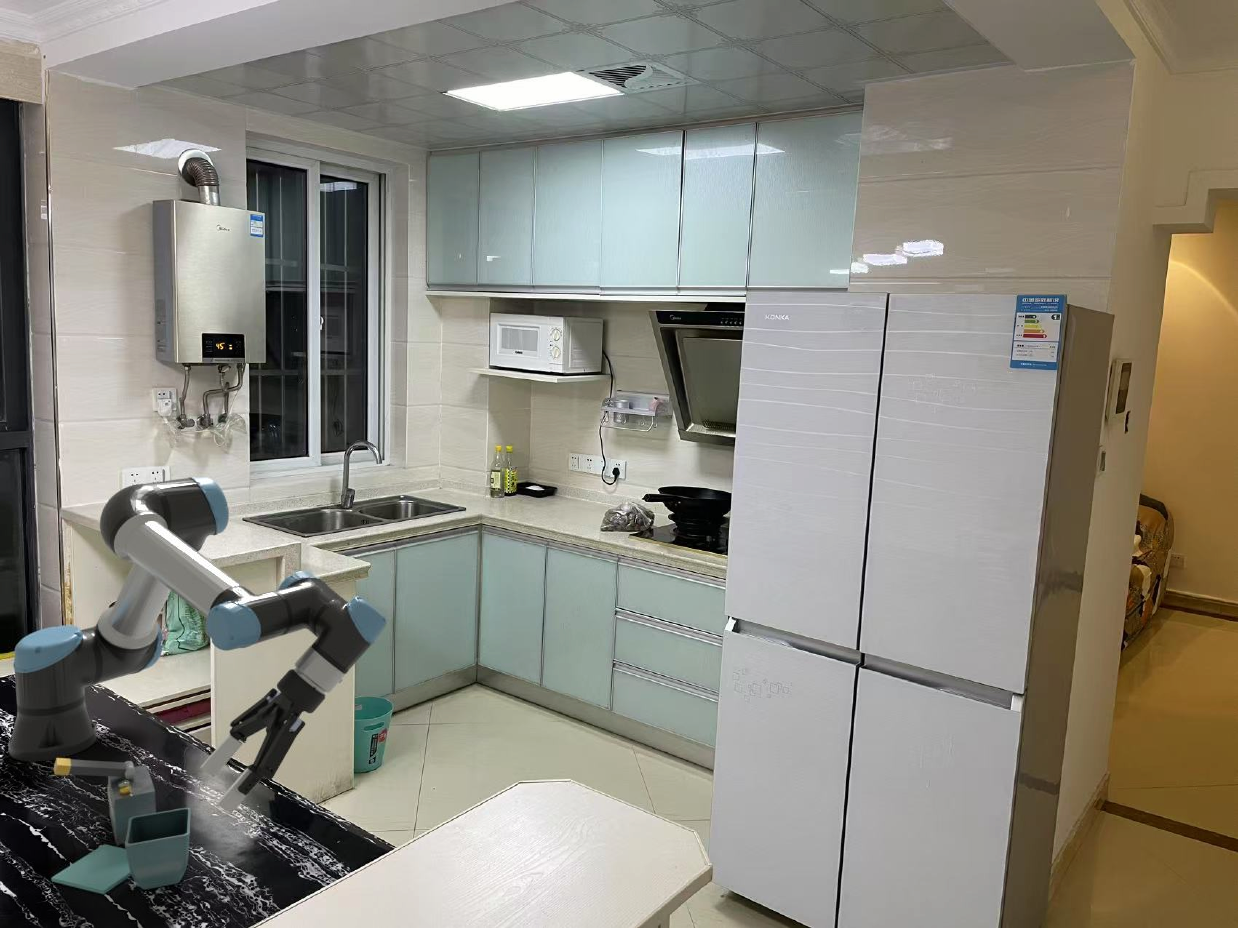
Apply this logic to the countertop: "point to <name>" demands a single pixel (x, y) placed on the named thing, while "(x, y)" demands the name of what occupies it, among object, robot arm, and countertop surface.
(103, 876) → the pad
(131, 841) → the flower pot
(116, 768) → the lever
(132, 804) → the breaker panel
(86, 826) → the countertop surface
